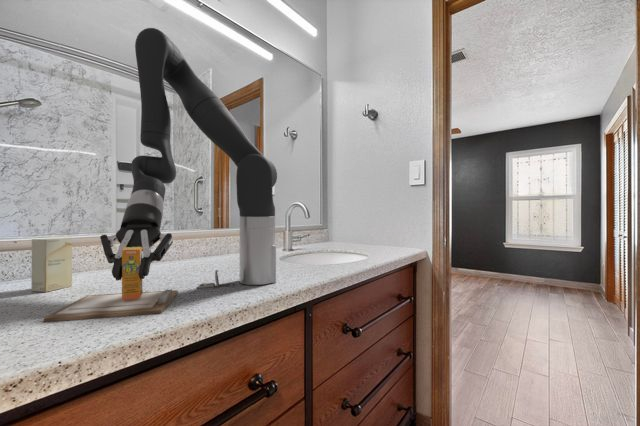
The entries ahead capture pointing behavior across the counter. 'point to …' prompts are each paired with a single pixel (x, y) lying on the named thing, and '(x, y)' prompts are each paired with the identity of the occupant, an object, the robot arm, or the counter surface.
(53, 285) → the skincare box
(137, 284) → the supplement box
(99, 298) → the wooden board
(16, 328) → the counter surface
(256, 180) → the robot arm
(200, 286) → the strap clip
